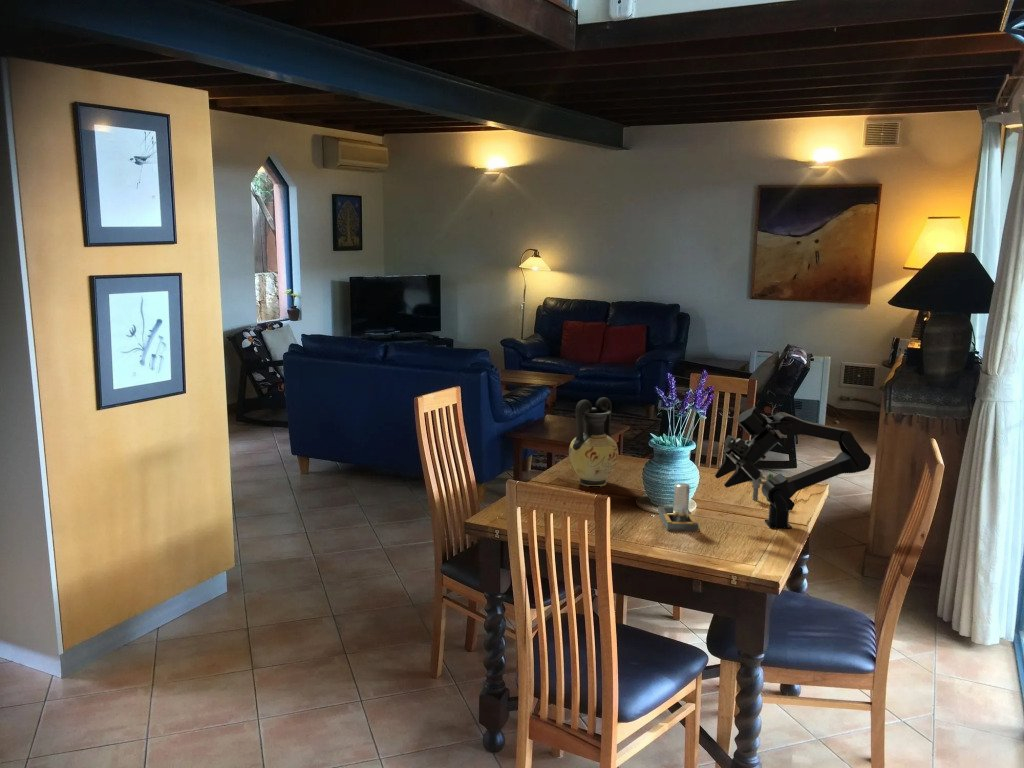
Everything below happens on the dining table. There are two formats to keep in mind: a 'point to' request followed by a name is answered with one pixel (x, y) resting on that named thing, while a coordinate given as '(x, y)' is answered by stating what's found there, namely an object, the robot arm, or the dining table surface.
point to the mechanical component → (758, 484)
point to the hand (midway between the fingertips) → (720, 481)
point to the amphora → (593, 443)
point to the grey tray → (676, 526)
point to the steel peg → (681, 502)
